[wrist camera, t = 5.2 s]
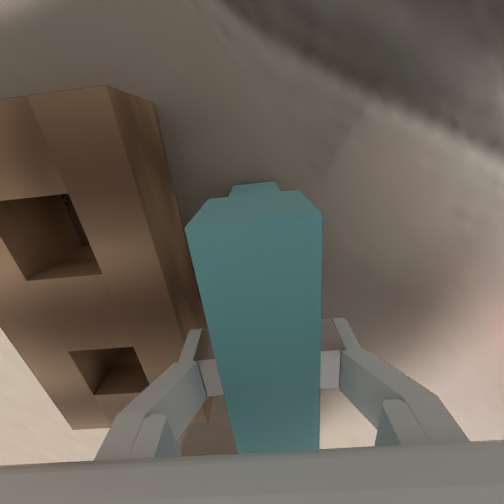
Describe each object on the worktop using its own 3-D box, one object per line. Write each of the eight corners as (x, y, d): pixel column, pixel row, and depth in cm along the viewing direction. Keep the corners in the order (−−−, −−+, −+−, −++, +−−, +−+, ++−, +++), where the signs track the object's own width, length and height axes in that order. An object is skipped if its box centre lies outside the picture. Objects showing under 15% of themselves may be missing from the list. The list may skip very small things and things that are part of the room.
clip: (291, 334, 17) (318, 480, 10) (248, 338, 17) (244, 483, 10) (282, 171, 12) (322, 214, 5) (225, 178, 13) (184, 227, 5)
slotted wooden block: (216, 368, 19) (207, 422, 15) (106, 375, 19) (72, 429, 16) (153, 103, 11) (105, 85, 8) (-24, 125, 12) (-148, 118, 8)
